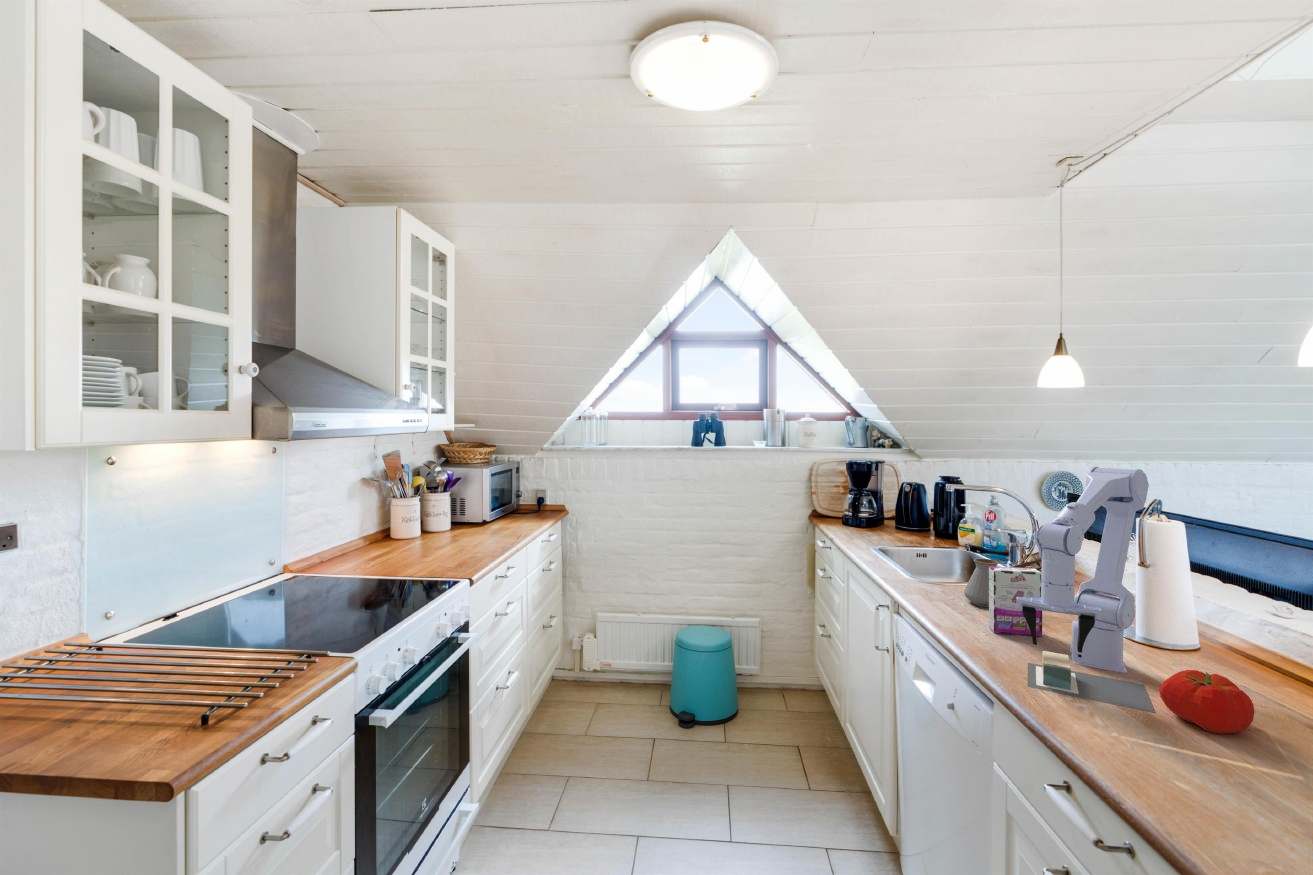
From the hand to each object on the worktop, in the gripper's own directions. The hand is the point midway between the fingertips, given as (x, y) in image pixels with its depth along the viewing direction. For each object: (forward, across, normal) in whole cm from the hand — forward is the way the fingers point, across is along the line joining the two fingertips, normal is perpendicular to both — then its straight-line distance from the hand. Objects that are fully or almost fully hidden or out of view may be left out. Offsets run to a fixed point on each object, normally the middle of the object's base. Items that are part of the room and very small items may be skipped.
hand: (1056, 646), depth 121 cm
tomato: (+8, +22, -6) cm, 24 cm away
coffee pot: (+8, -11, +53) cm, 55 cm away
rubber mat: (+7, +5, 0) cm, 9 cm away
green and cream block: (+7, 0, 0) cm, 7 cm away
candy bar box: (+8, -8, +29) cm, 31 cm away
